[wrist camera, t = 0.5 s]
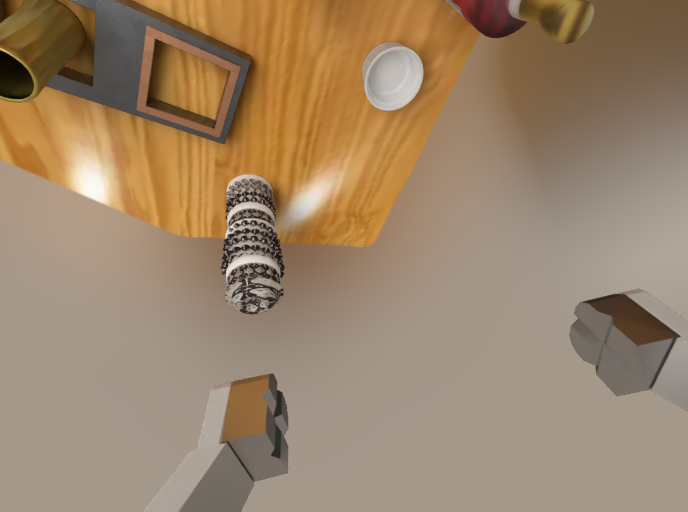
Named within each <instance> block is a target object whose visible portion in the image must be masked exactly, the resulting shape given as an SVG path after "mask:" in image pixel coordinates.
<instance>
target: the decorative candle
mask: <svg viewBox="0 0 688 512" xmlns="http://www.w3.org/2000/svg"><path fill="white" fill-rule="evenodd" d="M226 191H227V192H226V195H227V198H226V201H229V203H226V208H227V209H226V214H227V215H226V220H227V224H228V229H227V232H226V234H225V240H224V248H223V251H224V256H223V257H222V261H223V262H222V267H221V269H222V270H223V271H222V274H223V276H226V281H227V291H226V293H225V298H226V301H227V302H228V303H229V304H230V305H231V306H232V307H234V308H236V309H237V310H239V311H240V312H243V313H246V314H260V313H263V312H267V311H268V310H270V309H271V308H273V307H274V305H276V304H277V303H279V301H280V300H281V299H282V297H283V289H282V287H281V286H280V278H282V277H283V275H284V273H283V272H282V271H283V270H284V265H283V264H282V263H283V261H282V254H281V249H280V248H279V247H280V244H279V243H280V240H279V239H278V233H277V231H276V229H275V218H276V214H275V213H274V212H275V208H274V206H275V202H274V196H273V189H272V187H271V185H270V183H269V182H268V181H267V180H265V179H264V178H263V177H260V176H257V175H255V174H244V175H240V176H237V177H235V178H234V179H233V180H232V181H230V182H229V184H228V187H227V189H226ZM227 264H228V265H227Z"/></svg>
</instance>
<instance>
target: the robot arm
mask: <svg viewBox="0 0 688 512" xmlns="http://www.w3.org/2000/svg"><path fill="white" fill-rule="evenodd" d="M574 314H575V315H576V316H577V317H578V319H577V320H576V321H575V322H574V323H573V324H572V325H571V329H570V339H571V343H572V346H573V347H574V349H575V351H576V352H577V354H578V355H579V356H580V357H581V358H582V359H583V360H584V361H586V362H588V363H590V364H593V365H595V366H596V374H597V376H598V377H599V378H600V379H601V380H602V381H603V382H604V383H605V384H606V385H607V386H608V387H609V388H610V390H611V391H612V392H613V393H614V394H615V395H616V396H621V395H626V394H631V393H635V392H640V391H645V390H650V389H652V390H651V392H653V393H655V394H657V395H659V396H660V397H662V398H664V399H666V400H668V401H670V402H671V403H673V404H675V405H677V406H679V407H680V408H682V409H684V410H686V411H688V320H687V319H686V318H684V317H683V316H681V315H680V314H678V313H677V312H675V311H674V310H673V309H671V308H670V307H668V306H667V305H665V304H664V303H663V302H661V301H660V300H658V299H657V298H655V297H654V296H653V295H651V294H650V293H648V292H647V291H644V290H641V289H635V290H630V291H626V292H622V293H618V294H612V295H608V296H604V297H600V298H596V299H592V300H587V301H583V302H580V303H579V304H578V305H577V306H576V309H575V312H574ZM287 430H288V412H287V405H286V401H285V398H284V396H283V393H282V392H281V391H278V390H277V380H276V378H275V376H274V374H267V375H262V376H257V377H252V378H247V379H242V380H237V381H233V382H228V383H223V384H219V385H215V386H214V387H213V389H212V390H211V392H210V396H209V400H208V404H207V408H206V413H205V417H204V422H203V426H202V430H201V434H200V438H199V443H198V447H197V449H196V450H192V451H190V453H189V454H188V455H187V456H186V458H185V459H184V460H183V462H182V463H181V464H180V465H179V467H178V468H177V469H176V470H175V472H174V473H173V474H172V476H171V477H170V478H169V479H168V481H167V482H166V483H165V484H164V486H163V487H162V488H161V490H160V491H159V492H158V493H157V495H156V496H155V497H154V499H153V500H152V501H151V502H150V504H149V505H148V506H147V508H146V509H145V510H144V511H143V512H241V510H242V508H243V506H244V504H245V502H246V500H247V498H248V496H249V494H250V492H251V490H252V488H253V486H254V482H255V481H259V480H263V479H267V478H270V477H274V476H278V475H282V474H286V473H288V445H287V442H286V440H285V438H284V434H285V433H286V431H287Z"/></svg>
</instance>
